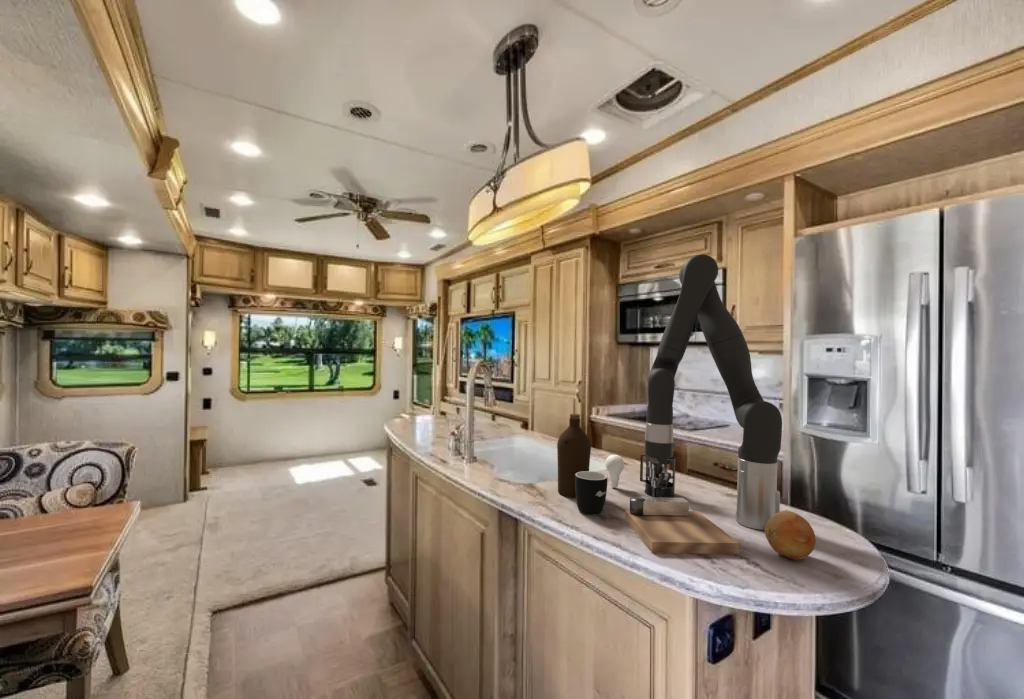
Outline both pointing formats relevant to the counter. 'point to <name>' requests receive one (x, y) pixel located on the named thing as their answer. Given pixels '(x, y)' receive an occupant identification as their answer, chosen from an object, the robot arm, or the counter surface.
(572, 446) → the olive oil
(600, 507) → the mug
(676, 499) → the hinged leg
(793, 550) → the onion
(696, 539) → the wooden cutting board
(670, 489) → the french press
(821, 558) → the counter surface
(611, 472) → the lightbulb
